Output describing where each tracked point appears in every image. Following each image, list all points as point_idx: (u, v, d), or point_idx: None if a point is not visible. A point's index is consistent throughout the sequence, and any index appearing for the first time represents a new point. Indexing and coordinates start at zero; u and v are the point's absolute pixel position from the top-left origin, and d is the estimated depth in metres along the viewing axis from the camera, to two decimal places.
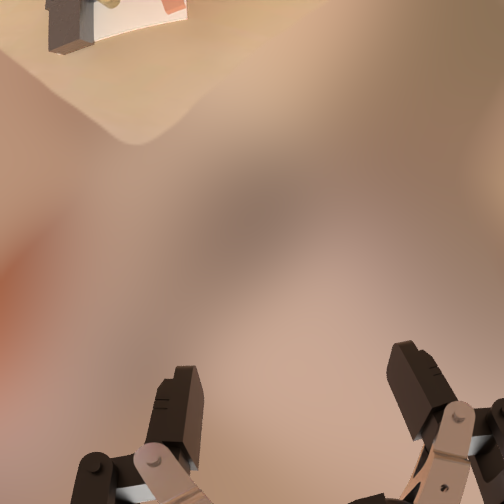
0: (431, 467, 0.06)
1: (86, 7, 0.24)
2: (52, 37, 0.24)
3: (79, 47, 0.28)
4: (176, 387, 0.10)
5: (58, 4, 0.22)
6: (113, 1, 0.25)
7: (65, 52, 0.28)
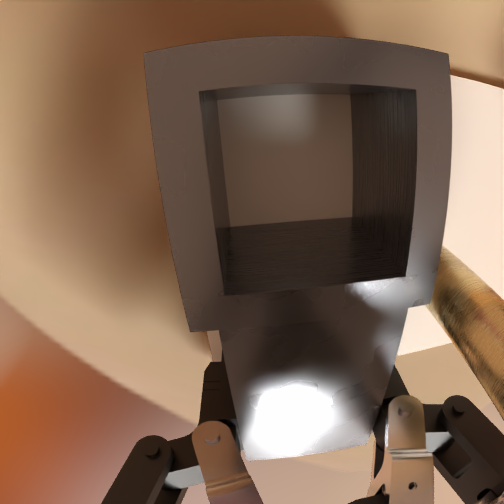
0: (392, 469, 0.06)
1: None
2: (260, 438, 0.09)
3: None
4: (225, 368, 0.11)
5: (283, 334, 0.07)
6: None
7: None
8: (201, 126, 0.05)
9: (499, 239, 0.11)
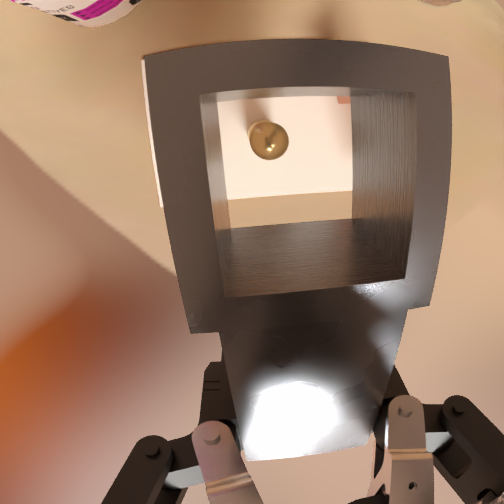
0: (392, 469, 0.06)
1: None
2: (260, 438, 0.09)
3: None
4: (225, 368, 0.11)
5: (283, 335, 0.07)
6: None
7: None
8: (202, 129, 0.05)
9: (320, 122, 0.22)
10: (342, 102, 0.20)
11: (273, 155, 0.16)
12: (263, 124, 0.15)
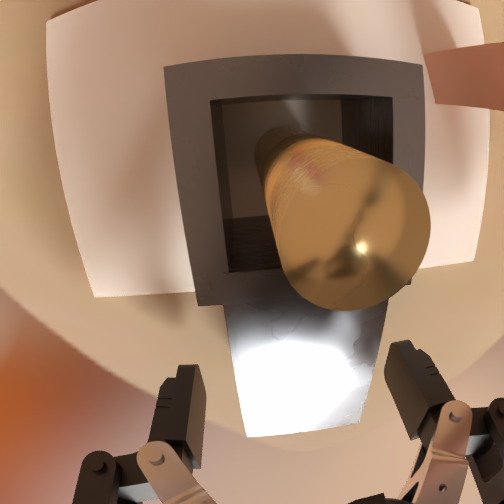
0: (429, 467, 0.06)
1: None
2: (259, 412, 0.10)
3: None
4: (179, 386, 0.10)
5: (279, 308, 0.08)
6: None
7: None
8: (211, 129, 0.06)
9: None
10: (450, 102, 0.08)
11: (367, 294, 0.04)
12: (344, 167, 0.03)
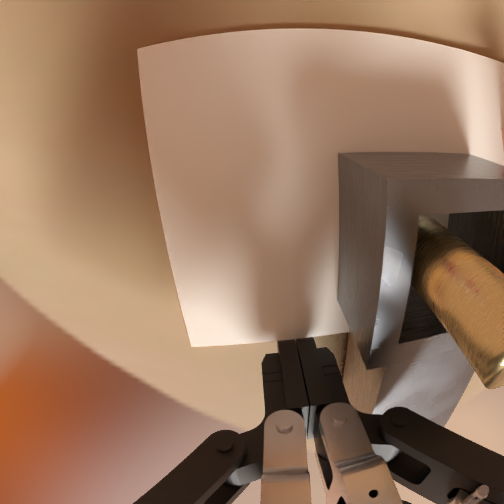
0: (345, 483, 0.06)
1: None
2: None
3: None
4: (285, 359, 0.11)
5: (422, 363, 0.09)
6: None
7: None
8: (416, 240, 0.07)
9: None
10: None
11: None
12: None
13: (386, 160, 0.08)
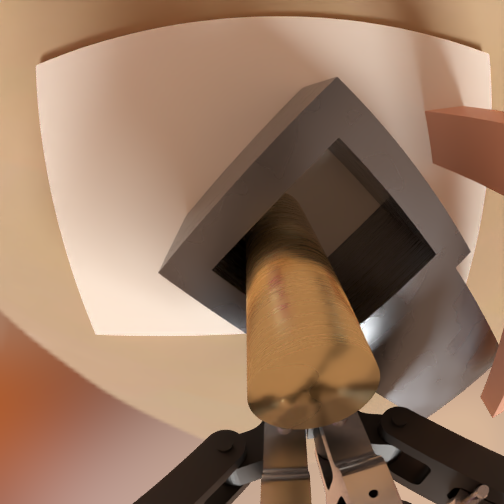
0: (345, 483, 0.06)
1: None
2: (419, 402, 0.10)
3: None
4: None
5: (380, 344, 0.08)
6: None
7: None
8: (232, 286, 0.07)
9: None
10: (447, 166, 0.09)
11: (320, 420, 0.05)
12: (302, 354, 0.04)
13: (196, 209, 0.09)
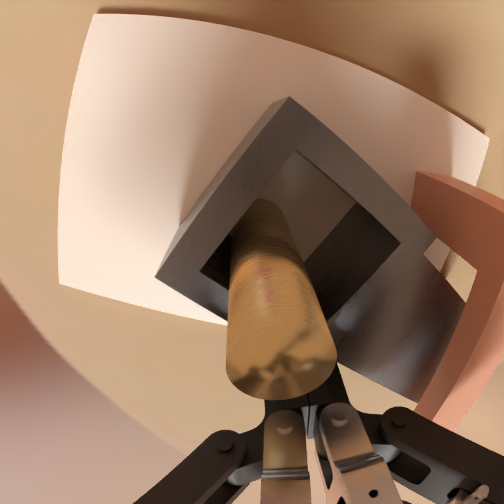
0: (345, 483, 0.06)
1: None
2: (410, 385, 0.11)
3: None
4: None
5: (359, 329, 0.09)
6: None
7: None
8: (218, 284, 0.09)
9: None
10: None
11: (276, 393, 0.06)
12: (286, 326, 0.05)
13: (185, 221, 0.10)
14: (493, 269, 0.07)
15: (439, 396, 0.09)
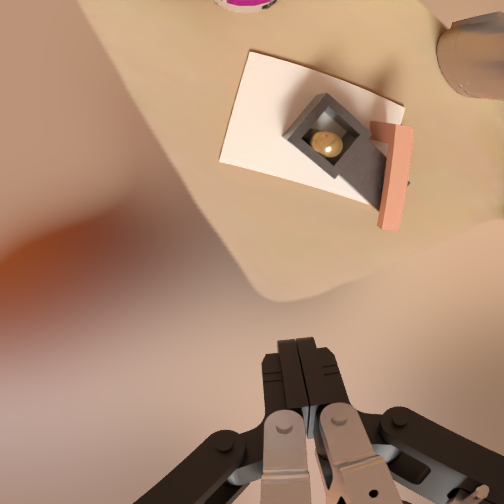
0: (345, 483, 0.06)
1: None
2: (376, 200, 0.29)
3: None
4: (285, 359, 0.11)
5: (350, 164, 0.28)
6: None
7: None
8: (306, 143, 0.27)
9: None
10: (372, 138, 0.29)
11: (329, 154, 0.24)
12: (331, 133, 0.23)
13: (290, 129, 0.28)
14: (391, 140, 0.25)
15: (385, 194, 0.27)
